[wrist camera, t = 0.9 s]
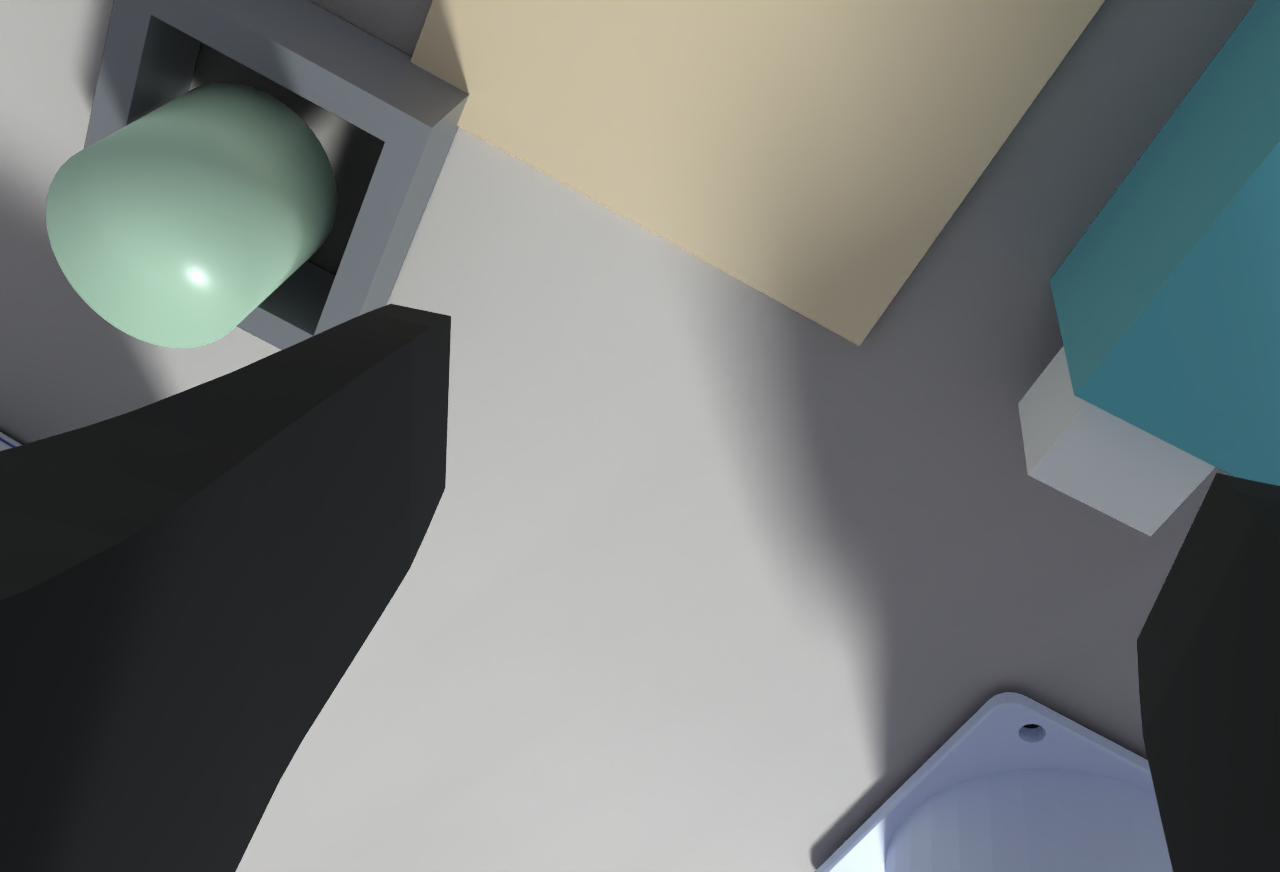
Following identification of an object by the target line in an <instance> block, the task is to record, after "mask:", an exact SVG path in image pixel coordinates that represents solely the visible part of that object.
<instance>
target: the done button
mask: <svg viewBox="0 0 1280 872" xmlns="http://www.w3.org/2000/svg"><path fill="white" fill-rule="evenodd" d="M336 210H337V189H336V182H335V177H334V173H333V170H332V167H331V164H330V162H329V159H328V157H327V154H326V152H325V151H324V149H323V147H322V145H321V143H320V142H319V140H318V139H317V137H316V136H315V134H314V133H313V131H312V130H311V129H310V128H309V127H308V125H307V124H306V123H305V122H304V121H303V120H302V119H301V118H300V117H299V116H298V115H297V114H296V113H295V112H294V111H293V110H291V109H290V108H289V107H287V106H286V105H285V104H284V103H282V102H280V101H279V100H277V99H276V98H274V97H272V96H271V95H268V94H266V93H264V92H262V91H260V90H257V89H254V88H251V87H248V86H244V85H239V84H234V83H214V84H208V85H204V86H200V87H197V88H195V89H193V90H190V91H188V92H187V93H185V94H183V95H181V96H179V97H178V98H176V99H174V100H172V101H170V102H168V103H167V104H165V105H163V106H161V107H159V108H158V109H156V110H154V111H152V112H150V113H149V114H147V115H145V116H143V117H141V118H139V119H138V120H136V121H134V122H132V123H130V124H129V125H127V126H125V127H123V128H121V129H120V130H118V131H116V132H114V133H112V134H110V135H109V136H107V137H105V138H103V139H101V140H100V141H98V142H96V143H94V144H92V145H91V146H89V147H87V148H85V149H83V150H81V151H80V152H78V153H77V154H75V155H74V156H72V157H71V158H69V159H68V160H67V161H66V162H65V163H64V164H63V165H62V166H61V168H60V169H59V171H58V172H57V173H56V175H55V177H54V179H53V181H52V183H51V185H50V189H49V192H48V196H47V203H46V224H47V231H48V236H49V240H50V243H51V247H52V250H53V252H54V255H55V257H56V260H57V262H58V264H59V266H60V268H61V269H62V271H63V273H64V275H65V276H66V278H67V279H68V281H69V282H70V284H71V285H72V287H73V288H74V289H75V291H76V292H77V293H78V294H79V296H80V297H81V298H82V299H83V300H84V301H85V302H86V303H87V304H88V305H89V306H90V307H91V308H92V309H93V310H94V311H95V312H96V313H97V314H98V315H100V316H101V317H102V318H103V319H105V320H106V321H107V322H109V323H110V324H112V325H113V326H114V327H116V328H118V329H119V330H121V331H123V332H125V333H126V334H128V335H130V336H133V337H135V338H137V339H139V340H142V341H145V342H148V343H151V344H154V345H158V346H163V347H169V348H194V347H200V346H204V345H207V344H210V343H213V342H215V341H217V340H219V339H221V338H222V337H224V336H225V335H226V334H228V333H229V332H230V331H232V330H233V329H234V328H235V327H236V326H237V325H238V324H239V323H240V322H241V321H242V320H243V319H244V318H245V317H247V316H248V315H249V314H250V313H251V312H252V311H253V310H254V309H255V308H256V307H257V306H258V305H259V304H260V303H262V302H263V301H264V300H265V299H266V298H267V297H268V296H269V295H270V294H271V293H272V292H273V291H274V290H275V289H277V288H278V287H279V286H280V285H281V284H282V283H283V282H284V281H285V280H286V279H287V278H288V277H289V276H291V275H292V274H293V273H294V272H295V271H296V270H297V269H298V268H299V267H300V266H301V265H302V264H303V263H304V262H306V261H307V260H308V259H309V258H310V257H311V256H312V255H313V254H314V253H315V252H316V251H317V250H318V249H319V248H320V247H321V246H322V245H323V243H324V242H325V240H326V239H327V237H328V236H329V234H330V231H331V229H332V227H333V224H334V220H335V217H336Z"/></svg>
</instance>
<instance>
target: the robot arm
mask: <svg viewBox="0 0 1280 872" xmlns="http://www.w3.org/2000/svg"><path fill="white" fill-rule="evenodd" d="M450 330H451V316H447V315H442V314H438V313H433V312H428V311H423V310H418V309H413V308H408V307H403V306H399V305H394V304H389V305H386V306H383V307H380V308H377V309H375V310H372V311H370V312H367V313H365V314H362V315H360V316H357V317H355V318H353V319H350V320H348V321H346V322H344V323H341V324H339V325H337V326H335V327H332V328H330V329H328V330H326V331H323V332H321V333H319V334H317V335H315V336H312V337H310V338H308V339H306V340H304V341H302V342H299V343H297V344H295V345H293V346H290V347H288V348H286V349H284V350H281V351H279V352H277V353H275V354H272V355H270V356H268V357H266V358H263V359H261V360H259V361H257V362H254V363H252V364H250V365H248V366H245V367H243V368H241V369H238V370H236V371H234V372H231V373H229V374H227V375H224V376H221V377H219V378H216V379H214V380H211V381H209V382H206V383H204V384H201V385H198V386H196V387H193V388H191V389H188V390H186V391H183V392H181V393H178V394H176V395H173V396H170V397H168V398H165V399H163V400H160V401H158V402H155V403H153V404H150V405H148V406H145V407H142V408H140V409H137V410H134V411H131V412H128V413H126V414H123V415H120V416H117V417H114V418H111V419H108V420H105V421H102V422H99V423H96V424H93V425H90V426H86V427H83V428H80V429H76V430H73V431H70V432H66V433H63V434H59V435H56V436H52V437H49V438H46V439H42V440H39V441H35V442H32V443H29V444H25V445H21V446H17V447H13V448H10V449H6V450H2V451H0V872H235V871H236V869H237V867H238V865H239V863H240V861H241V859H242V857H243V855H244V853H245V851H246V849H247V847H248V844H249V842H250V840H251V838H252V836H253V834H254V832H255V830H256V828H257V826H258V824H259V822H260V820H261V818H262V816H263V814H264V812H265V809H266V807H267V805H268V803H269V801H270V799H271V797H272V795H273V793H274V791H275V789H276V787H277V785H278V783H279V781H280V779H281V777H282V775H283V774H284V772H285V770H286V768H287V767H288V765H289V763H290V761H291V760H292V758H293V756H294V754H295V752H296V751H297V749H298V747H299V745H300V744H301V742H302V740H303V739H304V737H305V735H306V734H307V732H308V731H309V729H310V727H311V726H312V724H313V723H314V721H315V719H316V718H317V716H318V715H319V713H320V712H321V710H322V708H323V707H324V705H325V704H326V702H327V700H328V699H329V697H330V696H331V694H332V692H333V691H334V689H335V688H336V686H337V685H338V683H339V681H340V680H341V678H342V677H343V675H344V673H345V672H346V670H347V669H348V667H349V666H350V664H351V662H352V661H353V659H354V658H355V656H356V654H357V653H358V651H359V650H360V648H361V647H362V645H363V643H364V642H365V640H366V639H367V637H368V635H369V634H370V632H371V631H372V629H373V627H374V626H375V624H376V623H377V621H378V619H379V618H380V616H381V615H382V613H383V611H384V610H385V608H386V606H387V605H388V603H389V602H390V600H391V598H392V597H393V595H394V594H395V592H396V590H397V589H398V587H399V585H400V584H401V582H402V580H403V579H404V577H405V575H406V574H407V572H408V570H409V569H410V567H411V565H412V562H413V560H414V558H415V556H416V554H417V551H418V549H419V547H420V545H421V543H422V541H423V538H424V536H425V534H426V532H427V529H428V527H429V525H430V522H431V520H432V518H433V515H434V513H435V511H436V508H437V506H438V504H439V501H440V499H441V497H442V494H443V492H444V489H445V477H446V447H447V418H448V389H449V359H450ZM1137 652H1138V673H1139V693H1140V705H1141V717H1142V728H1143V738H1144V743H1145V748H1146V752H1147V757H1148V760H1146V759H1144V758H1142V757H1140V756H1139V755H1137V754H1135V753H1133V752H1131V751H1129V750H1127V749H1125V748H1123V747H1121V746H1120V745H1118V744H1116V743H1114V742H1112V741H1110V740H1108V739H1106V738H1104V737H1102V736H1101V735H1099V734H1097V733H1095V732H1093V731H1091V730H1089V729H1087V728H1085V727H1083V726H1082V725H1080V724H1078V723H1076V722H1074V721H1072V720H1070V719H1068V718H1066V717H1064V716H1063V715H1061V714H1059V713H1057V712H1055V711H1053V710H1051V709H1049V708H1047V707H1045V706H1044V705H1042V704H1040V703H1038V702H1036V701H1034V700H1032V699H1030V698H1028V697H1026V696H1024V695H1021V694H1018V693H1013V692H1005V693H1001V694H997V695H995V696H994V697H992V698H990V699H989V700H988V701H987V702H986V703H985V704H984V705H983V706H982V707H981V708H980V709H979V710H978V711H977V712H976V713H975V714H974V715H973V716H972V717H971V718H970V719H969V720H968V721H967V722H966V723H965V724H964V725H963V726H962V727H961V728H960V729H959V730H958V731H957V732H956V733H955V734H954V735H953V736H952V737H951V738H950V739H949V740H948V741H947V742H946V743H945V744H944V745H943V746H942V747H941V748H939V749H938V750H937V751H936V752H935V753H934V754H933V755H932V756H931V757H930V758H929V759H928V760H927V761H926V762H925V763H924V764H923V765H922V766H921V767H920V768H919V769H918V770H917V771H916V772H915V773H914V774H913V775H912V776H911V777H910V778H909V779H908V780H907V781H906V782H905V783H904V784H903V785H902V786H901V787H900V788H899V789H898V790H897V791H896V792H895V793H894V794H893V795H892V796H891V797H890V798H889V799H888V800H887V801H886V802H885V803H884V804H883V805H882V806H881V807H880V808H879V809H878V810H877V811H876V812H875V813H874V814H873V815H872V816H871V817H870V818H869V819H868V820H867V821H866V822H865V823H864V824H863V825H862V826H861V827H860V828H859V829H858V830H857V831H855V832H854V833H853V834H852V835H851V836H850V837H849V838H848V839H847V840H846V841H845V842H844V843H843V844H842V845H841V846H840V847H839V848H838V849H837V850H836V851H835V852H834V853H833V854H832V855H831V856H830V857H829V858H828V859H827V860H826V861H825V862H824V863H823V864H822V865H821V866H820V867H819V868H818V869H817V870H816V871H815V872H1280V486H1277V485H1272V484H1267V483H1262V482H1258V481H1253V480H1248V479H1243V478H1238V477H1233V476H1228V475H1223V474H1218V473H1216V476H1215V478H1214V480H1213V482H1212V484H1211V486H1210V488H1209V490H1208V492H1207V494H1206V497H1205V499H1204V501H1203V503H1202V505H1201V507H1200V509H1199V511H1198V513H1197V515H1196V518H1195V520H1194V522H1193V524H1192V526H1191V528H1190V530H1189V532H1188V534H1187V536H1186V539H1185V541H1184V543H1183V545H1182V547H1181V549H1180V551H1179V553H1178V555H1177V557H1176V560H1175V562H1174V564H1173V566H1172V568H1171V570H1170V572H1169V574H1168V576H1167V578H1166V581H1165V583H1164V585H1163V587H1162V589H1161V591H1160V593H1159V595H1158V597H1157V599H1156V602H1155V604H1154V606H1153V608H1152V610H1151V612H1150V614H1149V616H1148V618H1147V620H1146V623H1145V625H1144V627H1143V629H1142V631H1141V633H1140V635H1139V637H1138V639H1137ZM1026 724H1036V725H1040V726H1039V727H1037V728H1031V729H1029V728H1025V727H1023V726H1024V725H1026Z"/></svg>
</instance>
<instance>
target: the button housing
mask: <svg viewBox="0 0 1280 872" xmlns="http://www.w3.org/2000/svg"><path fill="white" fill-rule="evenodd" d="M201 42H202V43H204V44H206V45H208V46H210V47H211V48H213V49H215V50H217V51H219V52H221V53H222V54H224V55H226V56H228V57H230V58H232V59H234V60H235V61H237V62H239V63H241V64H243V65H245V66H246V67H248V68H250V69H252V70H254V71H256V72H257V73H259V74H261V75H263V76H265V77H267V78H268V79H270V80H272V81H274V82H276V83H278V84H279V85H281V86H283V87H285V88H287V89H289V90H291V91H292V92H294V93H296V94H298V95H300V96H302V97H303V98H305V99H307V100H309V101H311V102H313V103H314V104H316V105H318V106H320V107H322V108H324V109H325V110H327V111H329V112H331V113H333V114H335V115H336V116H338V117H340V118H342V119H344V120H346V121H348V122H349V123H351V124H353V125H355V126H357V127H359V128H360V129H362V130H364V131H366V132H368V133H370V134H371V135H373V136H375V137H377V138H379V139H381V140H382V141H384V142H385V143H384V146H383V149H382V152H381V154H380V157H379V160H378V162H377V165H376V168H375V171H374V173H373V176H372V179H371V181H370V184H369V187H368V190H367V192H366V195H365V198H364V200H363V203H362V206H361V209H360V211H359V214H358V217H357V219H356V222H355V225H354V228H353V230H352V233H351V236H350V238H349V241H348V244H347V247H346V249H345V252H344V255H343V257H342V260H341V263H340V265H339V268H338V271H337V274H336V276H335V275H333V274H331V273H330V272H328V271H326V270H324V269H322V268H320V267H318V266H316V265H314V264H313V263H311V262H309V261H306V262H304V263H303V264H302V265H301V266H300V267H299V268H298V269H297V270H296V271H295V272H294V273H293V274H292V275H291V276H289V277H288V278H287V279H286V280H285V281H284V282H283V283H282V284H281V285H280V286H279V287H278V288H277V289H275V290H274V291H273V292H272V293H271V294H270V295H269V296H268V297H267V298H266V299H265V300H264V301H263V302H262V303H260V304H259V305H258V306H257V307H256V308H255V309H254V310H253V311H252V312H251V313H250V314H249V315H248V316H247V317H245V318H244V319H243V320H242V321H241V322H240V323H239V324H238V325H237V327H239V328H241V329H243V330H245V331H247V332H249V333H251V334H252V335H254V336H256V337H258V338H260V339H262V340H264V341H266V342H268V343H270V344H272V345H273V346H275V347H277V348H279V349H281V350H284V349H286V348H288V347H290V346H293V345H295V344H297V343H299V342H302V341H304V340H306V339H308V338H310V337H312V336H315V335H317V334H319V333H321V332H323V331H326V330H328V329H330V328H332V327H335V326H337V325H339V324H341V323H344V322H346V321H348V320H350V319H353V318H355V317H357V316H360V315H362V314H365V313H367V312H370V311H372V310H375V309H377V308H380V307H383V306H386V304H387V302H388V299H389V297H390V294H391V292H392V290H393V287H394V285H395V282H396V280H397V277H398V275H399V272H400V270H401V267H402V265H403V262H404V260H405V257H406V255H407V253H408V250H409V248H410V245H411V243H412V240H413V238H414V235H415V233H416V230H417V228H418V225H419V223H420V221H421V218H422V216H423V213H424V211H425V208H426V206H427V203H428V201H429V198H430V196H431V193H432V191H433V188H434V186H435V184H436V181H437V179H438V176H439V174H440V171H441V169H442V166H443V164H444V161H445V159H446V156H447V154H448V152H449V149H450V147H451V144H452V142H453V139H454V137H455V134H456V132H457V129H458V127H459V126H457V124H458V121H459V119H460V116H461V114H462V111H463V109H464V106H465V104H466V101H467V99H468V96H469V94H467V93H465V92H464V91H462V90H460V89H458V88H456V87H455V86H453V85H451V84H449V83H447V82H446V81H444V80H442V79H440V78H438V77H436V76H435V75H433V74H431V73H429V72H427V71H426V70H424V69H422V68H420V67H418V66H417V65H415V64H413V63H411V62H410V61H411V58H412V57H410V56H408V55H407V54H405V53H403V52H401V51H399V50H398V49H396V48H394V47H392V46H390V45H388V44H387V43H385V42H383V41H381V40H379V39H378V38H376V37H374V36H372V35H370V34H369V33H367V32H365V31H363V30H361V29H359V28H358V27H356V26H354V25H352V24H350V23H349V22H347V21H345V20H343V19H341V18H340V17H338V16H336V15H334V14H332V13H330V12H329V11H327V10H325V9H323V8H321V7H320V6H318V5H316V4H314V3H312V2H311V1H309V0H114V3H113V8H112V13H111V17H110V22H109V27H108V32H107V37H106V42H105V47H104V52H103V57H102V62H101V67H100V71H99V76H98V81H97V86H96V91H95V96H94V101H93V106H92V111H91V116H90V121H89V125H88V130H87V135H86V140H85V145H84V149H85V148H87V147H89V146H91V145H92V144H94V143H96V142H98V141H100V140H101V139H103V138H105V137H107V136H109V135H110V134H112V133H114V132H116V131H118V130H120V129H121V128H123V127H125V126H127V125H129V124H130V123H132V122H134V121H136V120H138V119H139V118H141V117H143V116H145V115H147V114H149V113H150V112H152V111H154V110H156V109H158V108H159V107H161V106H163V105H165V104H167V103H168V102H170V101H172V100H174V99H176V98H178V97H179V96H181V95H183V94H185V93H187V92H188V91H189V89H190V85H191V81H192V77H193V73H194V69H195V65H196V61H197V58H198V54H199V50H200V46H201Z"/></svg>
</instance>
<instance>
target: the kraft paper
mask: <svg viewBox="0 0 1280 872" xmlns="http://www.w3.org/2000/svg"><path fill="white" fill-rule="evenodd" d="M1104 1H1105V0H433V1H432V3H431V6H430V9H429V12H428V14H427V17H426V20H425V22H424V25H423V28H422V31H421V33H420V36H419V39H418V42H417V44H416V47H415V50H414V53H413V55H412V58H411V61H410V62H411V63H413V64H415V65H417V66H418V67H420V68H422V69H424V70H426V71H427V72H429V73H431V74H433V75H435V76H436V77H438V78H440V79H442V80H444V81H446V82H447V83H449V84H451V85H453V86H455V87H456V88H458V89H460V90H462V91H464V92H465V93H467V94H469V96H468V99H467V101H466V104H465V106H464V109H463V111H462V114H461V116H460V119H459V121H458V124H457V126H459V127H461V128H462V129H464V130H466V131H468V132H470V133H471V134H473V135H475V136H477V137H479V138H481V139H482V140H484V141H486V142H488V143H490V144H492V145H493V146H495V147H497V148H499V149H501V150H502V151H504V152H506V153H508V154H510V155H512V156H513V157H515V158H517V159H519V160H521V161H523V162H524V163H526V164H528V165H530V166H532V167H533V168H535V169H537V170H539V171H541V172H543V173H544V174H546V175H548V176H550V177H552V178H554V179H555V180H557V181H559V182H561V183H563V184H564V185H566V186H568V187H570V188H572V189H574V190H575V191H577V192H579V193H581V194H583V195H585V196H586V197H588V198H590V199H592V200H594V201H595V202H597V203H599V204H601V205H603V206H605V207H606V208H608V209H610V210H612V211H614V212H616V213H617V214H619V215H621V216H623V217H625V218H626V219H628V220H630V221H632V222H634V223H636V224H637V225H639V226H641V227H643V228H645V229H646V230H648V231H650V232H652V233H654V234H656V235H657V236H659V237H661V238H663V239H665V240H667V241H668V242H670V243H672V244H674V245H676V246H677V247H679V248H681V249H683V250H685V251H687V252H688V253H690V254H692V255H694V256H696V257H698V258H699V259H701V260H703V261H705V262H707V263H708V264H710V265H712V266H714V267H716V268H718V269H719V270H721V271H723V272H725V273H727V274H729V275H730V276H732V277H734V278H736V279H738V280H739V281H741V282H743V283H745V284H747V285H749V286H750V287H752V288H754V289H756V290H758V291H760V292H761V293H763V294H765V295H767V296H769V297H770V298H772V299H774V300H776V301H778V302H780V303H781V304H783V305H785V306H787V307H789V308H791V309H792V310H794V311H796V312H798V313H800V314H801V315H803V316H805V317H807V318H809V319H811V320H812V321H814V322H816V323H818V324H820V325H822V326H823V327H825V328H827V329H829V330H831V331H832V332H834V333H836V334H838V335H840V336H842V337H843V338H845V339H847V340H849V341H851V342H853V343H854V344H856V345H858V346H860V345H861V343H862V342H863V340H864V339H865V338H866V336H867V335H868V333H869V332H870V331H871V329H872V328H873V326H874V325H875V324H876V322H877V321H878V319H879V318H880V317H881V315H882V314H883V312H884V311H885V309H886V308H887V307H888V305H889V304H890V302H891V301H892V300H893V298H894V297H895V295H896V294H897V293H898V291H899V290H900V288H901V287H902V286H903V284H904V283H905V281H906V280H907V279H908V277H909V276H910V274H911V273H912V271H913V270H914V269H915V267H916V266H917V264H918V263H919V262H920V260H921V259H922V257H923V256H924V255H925V253H926V252H927V250H928V249H929V248H930V246H931V245H932V243H933V242H934V240H935V239H936V238H937V236H938V235H939V233H940V232H941V231H942V229H943V228H944V226H945V225H946V224H947V222H948V221H949V219H950V218H951V217H952V215H953V214H954V212H955V211H956V209H957V208H958V207H959V205H960V204H961V202H962V201H963V200H964V198H965V197H966V195H967V194H968V193H969V191H970V190H971V188H972V187H973V186H974V184H975V183H976V181H977V180H978V178H979V177H980V176H981V174H982V173H983V171H984V170H985V169H986V167H987V166H988V164H989V163H990V162H991V160H992V159H993V157H994V156H995V155H996V153H997V152H998V150H999V149H1000V147H1001V146H1002V145H1003V143H1004V142H1005V140H1006V139H1007V138H1008V136H1009V135H1010V133H1011V132H1012V131H1013V129H1014V128H1015V126H1016V125H1017V124H1018V122H1019V121H1020V119H1021V118H1022V116H1023V115H1024V114H1025V112H1026V111H1027V109H1028V108H1029V107H1030V105H1031V104H1032V102H1033V101H1034V100H1035V98H1036V97H1037V95H1038V94H1039V93H1040V91H1041V90H1042V88H1043V87H1044V85H1045V84H1046V83H1047V81H1048V80H1049V78H1050V77H1051V76H1052V74H1053V73H1054V71H1055V70H1056V69H1057V67H1058V66H1059V64H1060V63H1061V62H1062V60H1063V59H1064V57H1065V56H1066V54H1067V53H1068V52H1069V50H1070V49H1071V47H1072V46H1073V45H1074V43H1075V42H1076V40H1077V39H1078V38H1079V36H1080V35H1081V33H1082V32H1083V31H1084V29H1085V28H1086V26H1087V25H1088V23H1089V22H1090V21H1091V19H1092V18H1093V16H1094V15H1095V14H1096V12H1097V11H1098V9H1099V8H1100V7H1101V5H1102V4H1103V2H1104Z"/></svg>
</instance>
